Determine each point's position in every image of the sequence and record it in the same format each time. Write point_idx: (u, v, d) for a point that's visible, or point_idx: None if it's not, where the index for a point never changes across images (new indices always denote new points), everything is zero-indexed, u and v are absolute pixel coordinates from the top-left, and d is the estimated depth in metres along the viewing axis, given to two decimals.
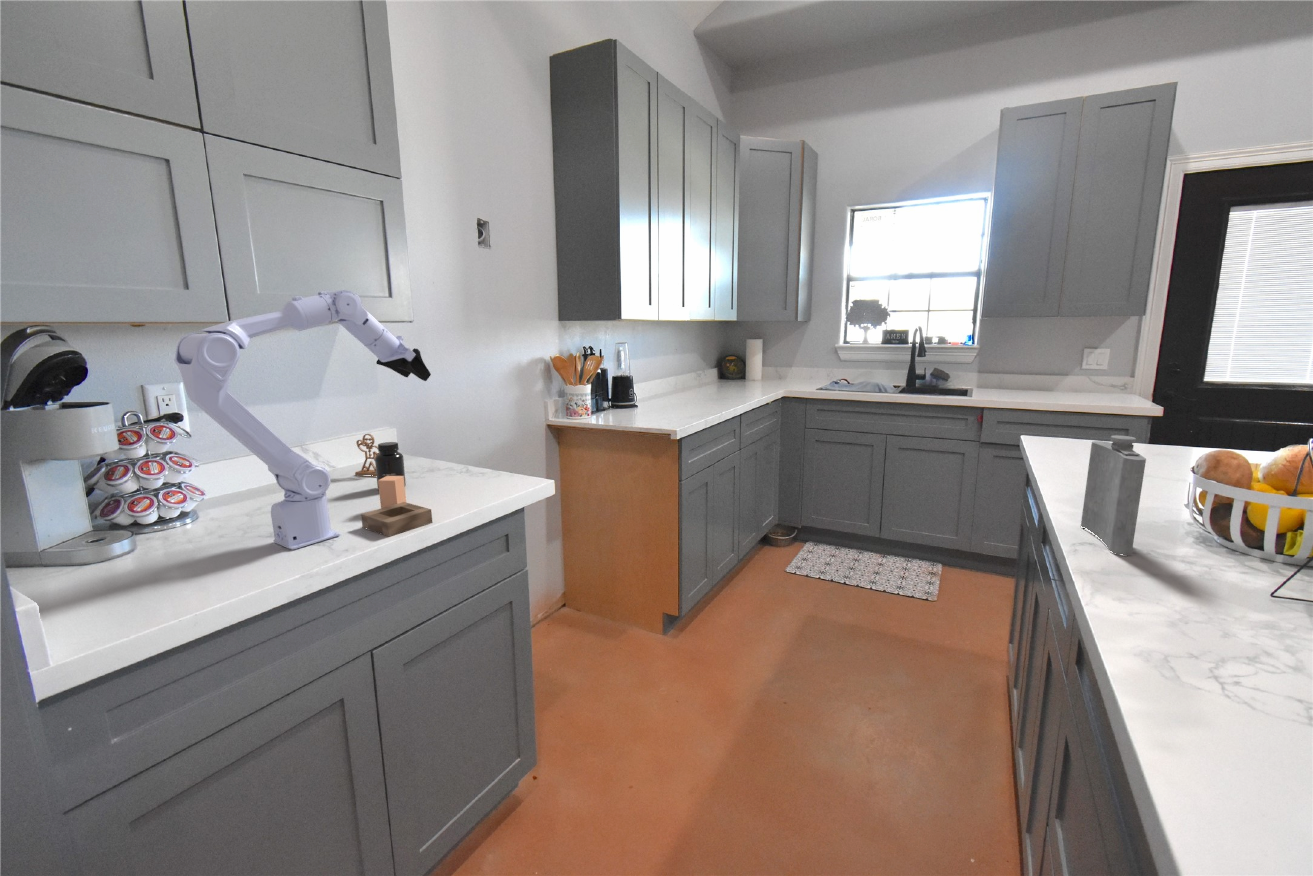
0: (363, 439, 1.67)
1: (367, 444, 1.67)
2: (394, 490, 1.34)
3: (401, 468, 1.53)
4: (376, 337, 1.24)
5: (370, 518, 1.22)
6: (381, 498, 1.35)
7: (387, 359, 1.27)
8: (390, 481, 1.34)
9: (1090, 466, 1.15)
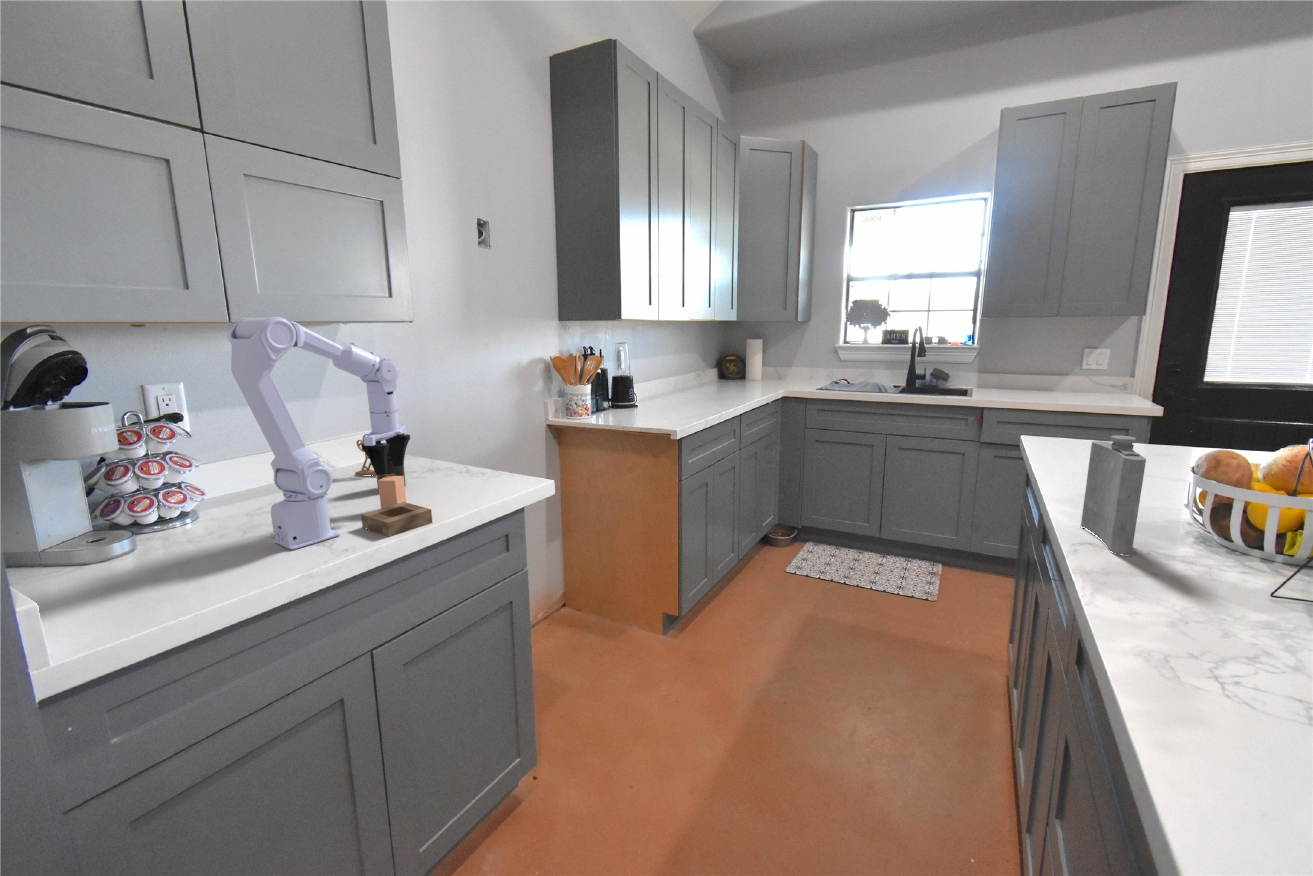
0: (363, 439, 1.67)
1: None
2: (394, 490, 1.34)
3: (401, 468, 1.53)
4: (388, 410, 1.30)
5: (370, 518, 1.22)
6: (381, 498, 1.35)
7: (370, 433, 1.32)
8: (390, 481, 1.34)
9: (1090, 466, 1.15)
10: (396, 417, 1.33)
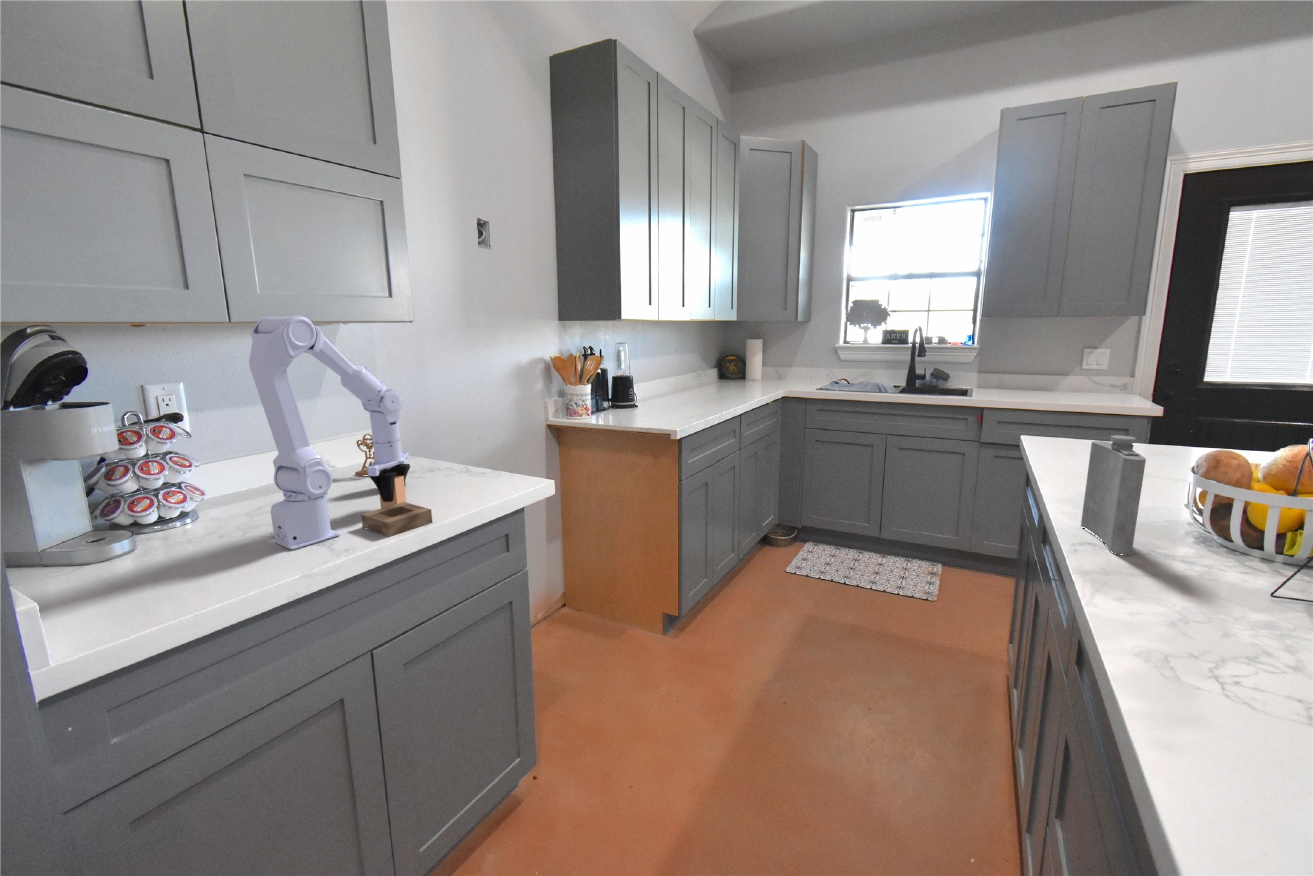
0: (363, 439, 1.67)
1: (367, 444, 1.67)
2: (394, 490, 1.34)
3: None
4: (391, 440, 1.32)
5: (370, 518, 1.22)
6: (381, 498, 1.35)
7: None
8: None
9: (1090, 466, 1.15)
10: (399, 446, 1.34)
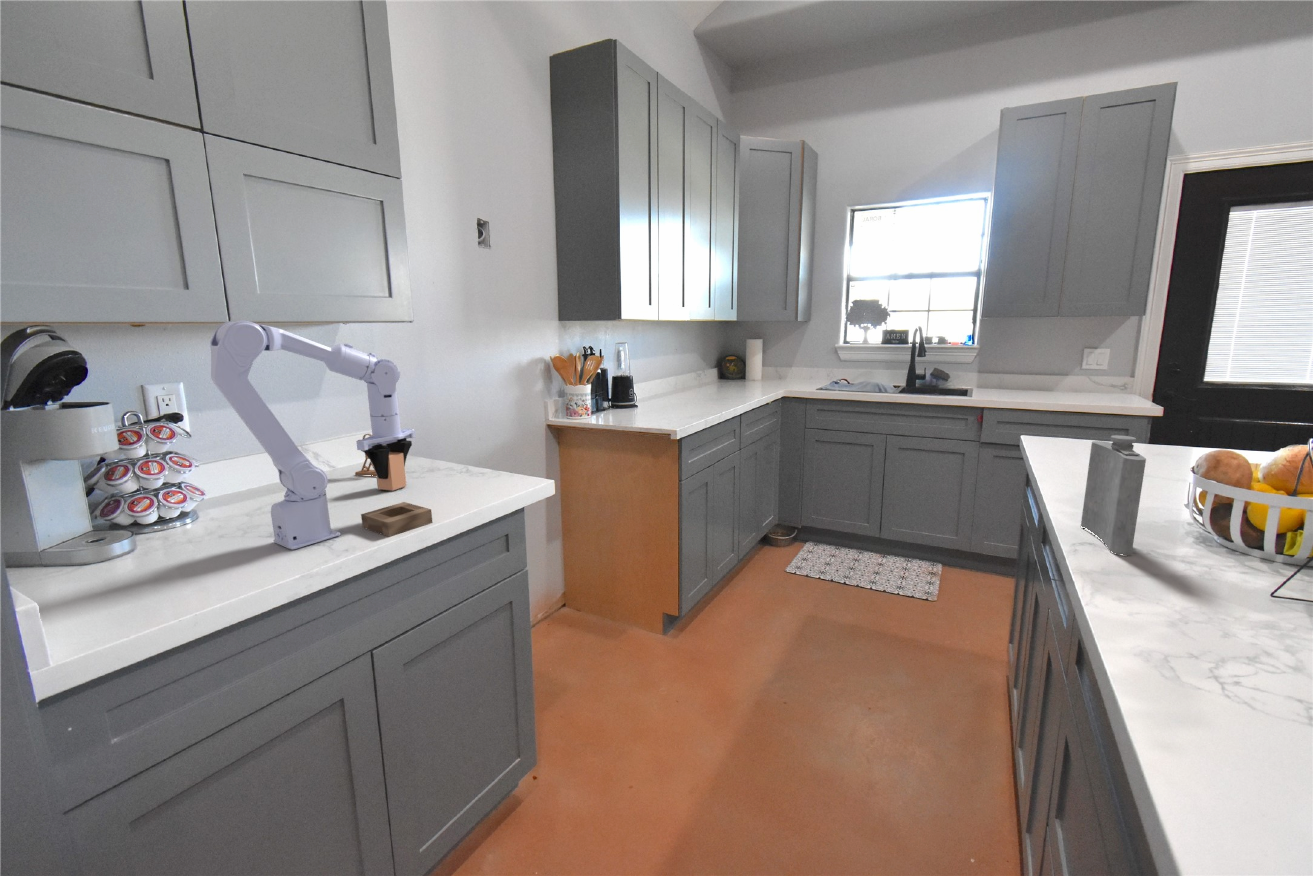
0: None
1: None
2: (388, 467, 1.26)
3: None
4: (385, 414, 1.24)
5: (370, 518, 1.22)
6: None
7: None
8: None
9: (1090, 466, 1.15)
10: (396, 421, 1.26)
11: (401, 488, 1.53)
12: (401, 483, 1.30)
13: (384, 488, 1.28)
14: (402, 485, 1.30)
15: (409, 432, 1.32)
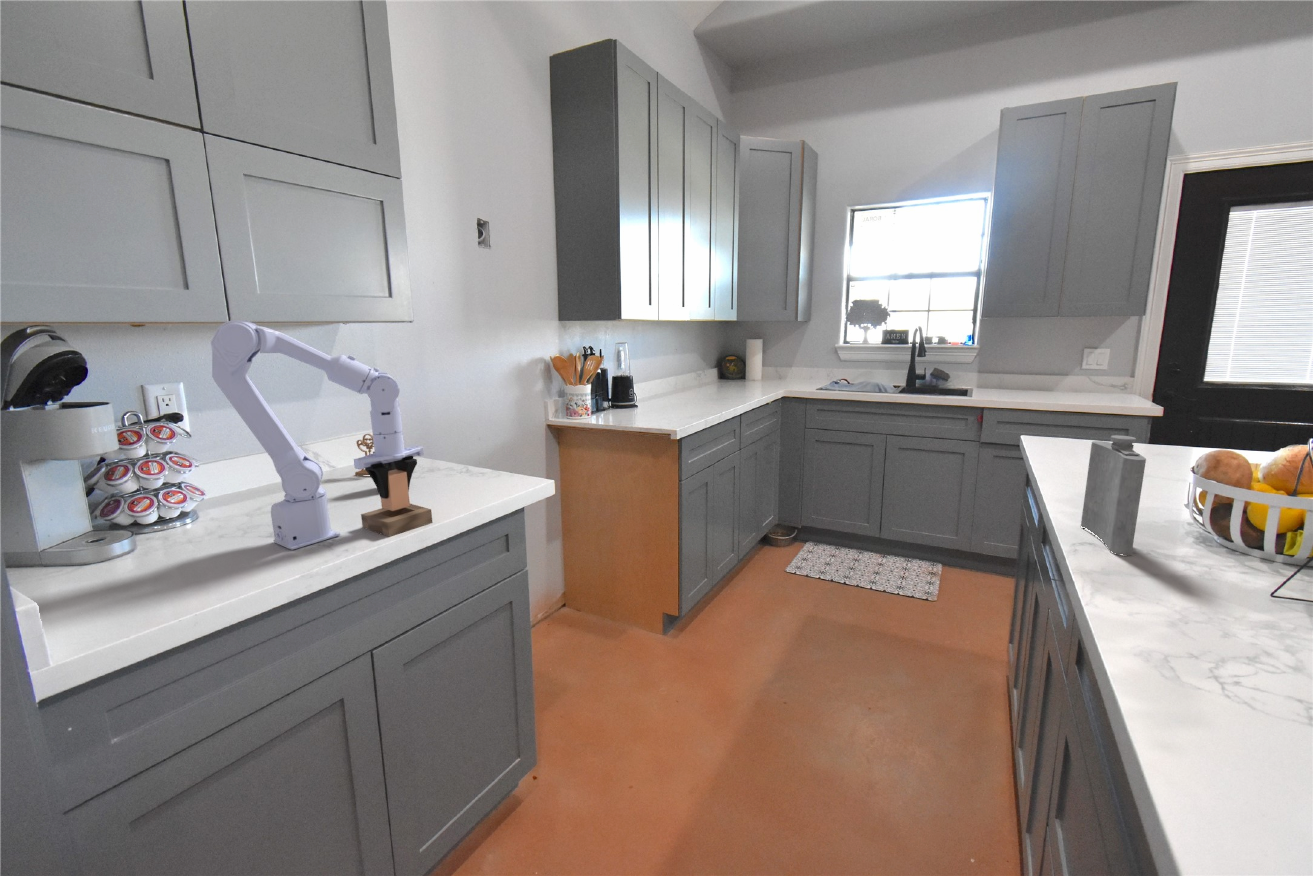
0: (363, 439, 1.67)
1: (367, 444, 1.67)
2: (388, 487, 1.22)
3: None
4: (382, 432, 1.19)
5: (370, 518, 1.22)
6: None
7: None
8: None
9: (1090, 466, 1.15)
10: (396, 439, 1.21)
11: None
12: (404, 504, 1.24)
13: (386, 507, 1.24)
14: (405, 505, 1.25)
15: (416, 450, 1.26)
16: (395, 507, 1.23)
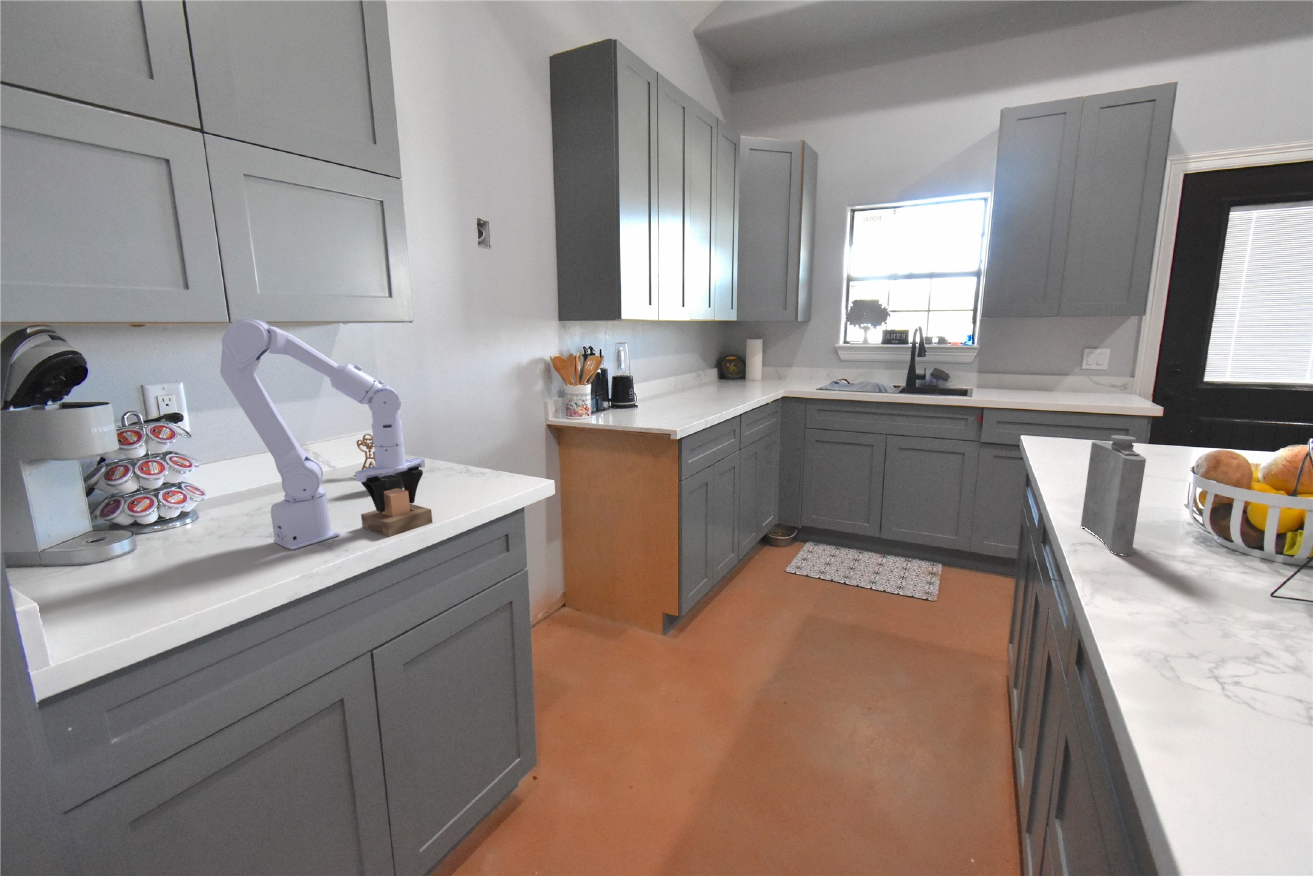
0: (363, 439, 1.67)
1: (367, 444, 1.67)
2: (390, 506, 1.22)
3: None
4: (384, 444, 1.20)
5: (370, 518, 1.22)
6: (382, 512, 1.25)
7: None
8: (387, 495, 1.22)
9: (1090, 466, 1.15)
10: (398, 452, 1.21)
11: (401, 488, 1.53)
12: None
13: None
14: None
15: (417, 462, 1.27)
16: None
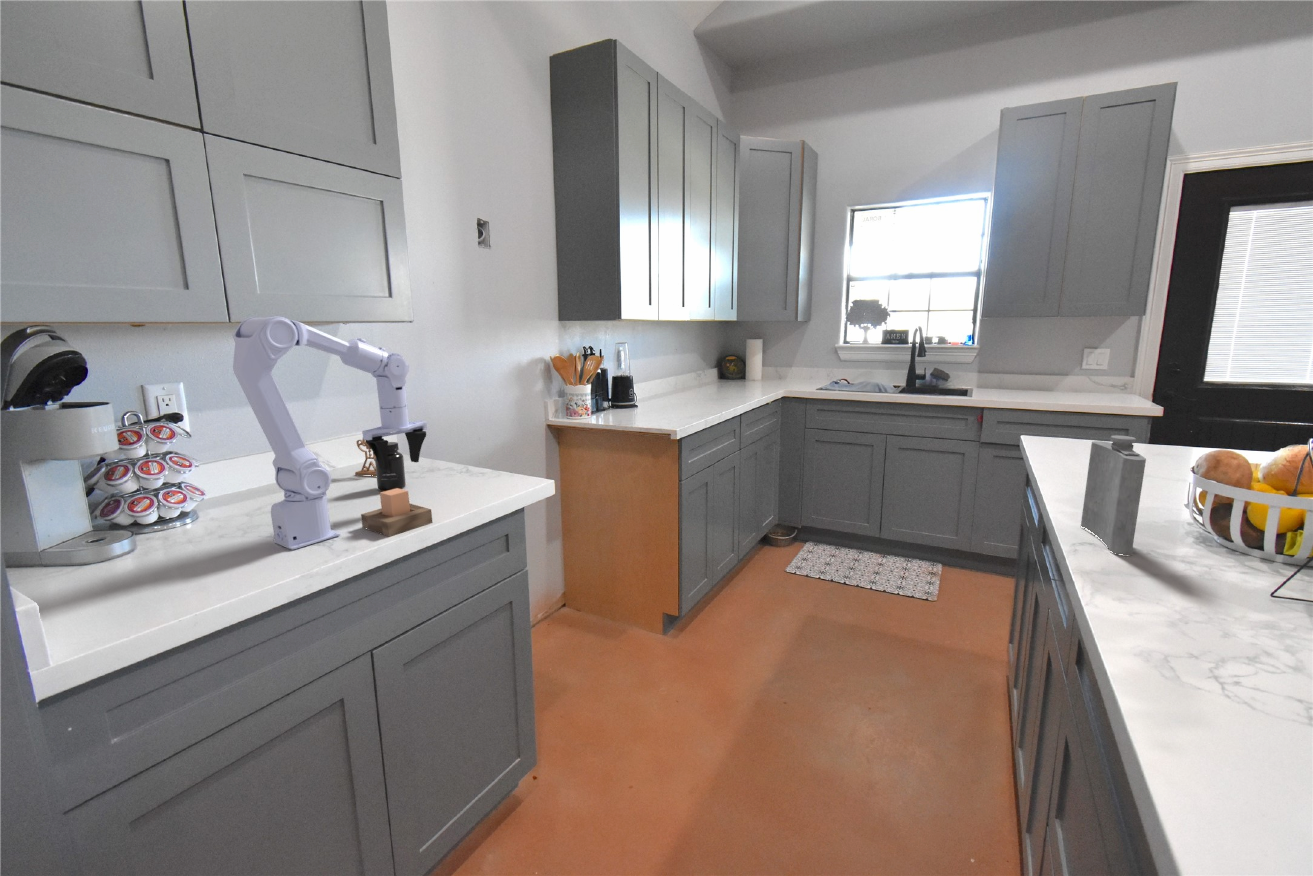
0: (363, 439, 1.67)
1: (367, 444, 1.67)
2: (390, 506, 1.22)
3: (401, 468, 1.53)
4: (396, 405, 1.30)
5: (370, 518, 1.22)
6: (382, 512, 1.25)
7: None
8: (387, 495, 1.22)
9: (1090, 466, 1.15)
10: (401, 413, 1.31)
11: (401, 488, 1.53)
12: None
13: None
14: None
15: (419, 424, 1.36)
16: None
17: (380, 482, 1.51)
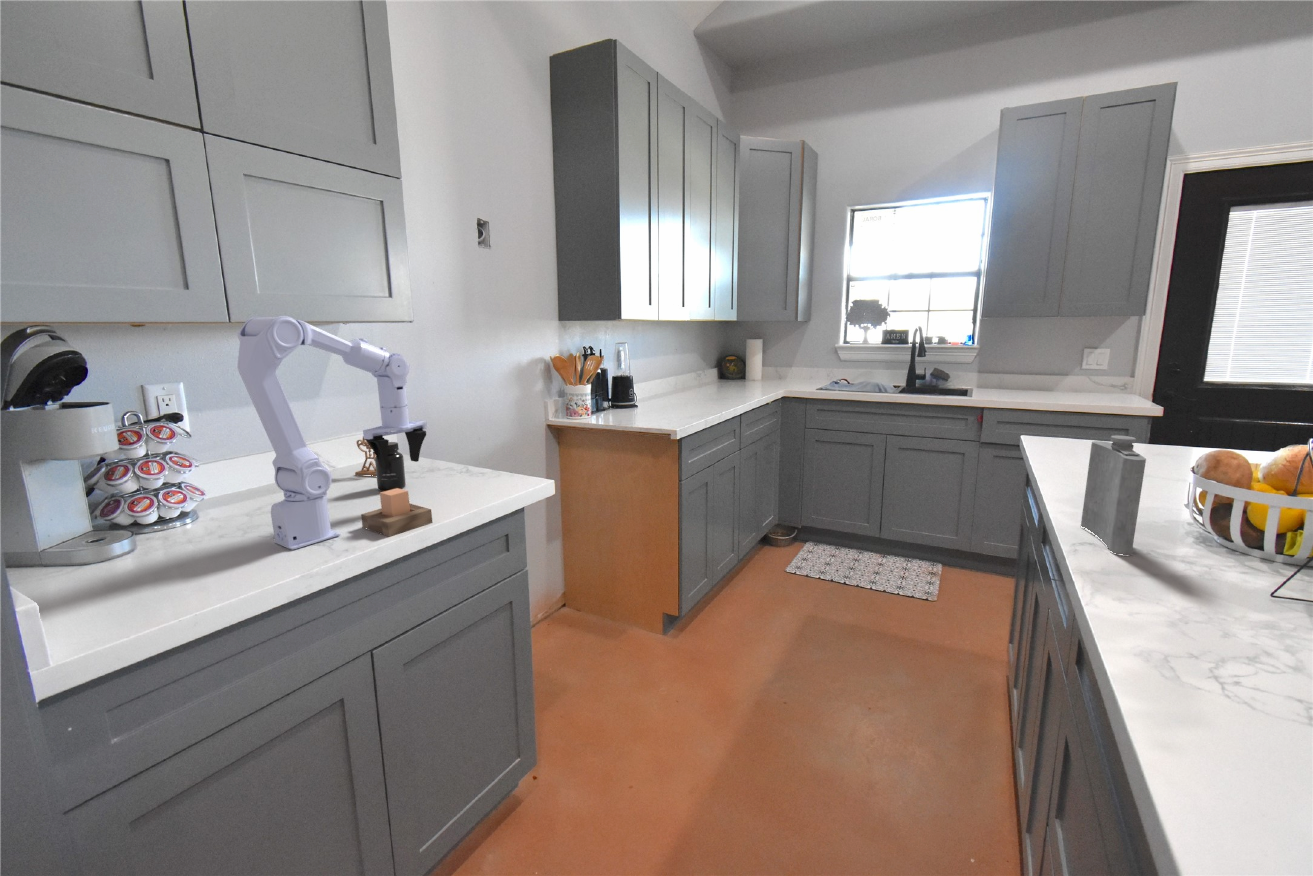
0: (363, 439, 1.67)
1: (367, 444, 1.67)
2: (390, 506, 1.22)
3: (401, 468, 1.53)
4: (397, 405, 1.31)
5: (370, 518, 1.22)
6: (382, 512, 1.25)
7: None
8: (387, 495, 1.22)
9: (1090, 466, 1.15)
10: (402, 413, 1.32)
11: (401, 488, 1.53)
12: None
13: None
14: None
15: (419, 423, 1.38)
16: None
17: (380, 482, 1.51)
